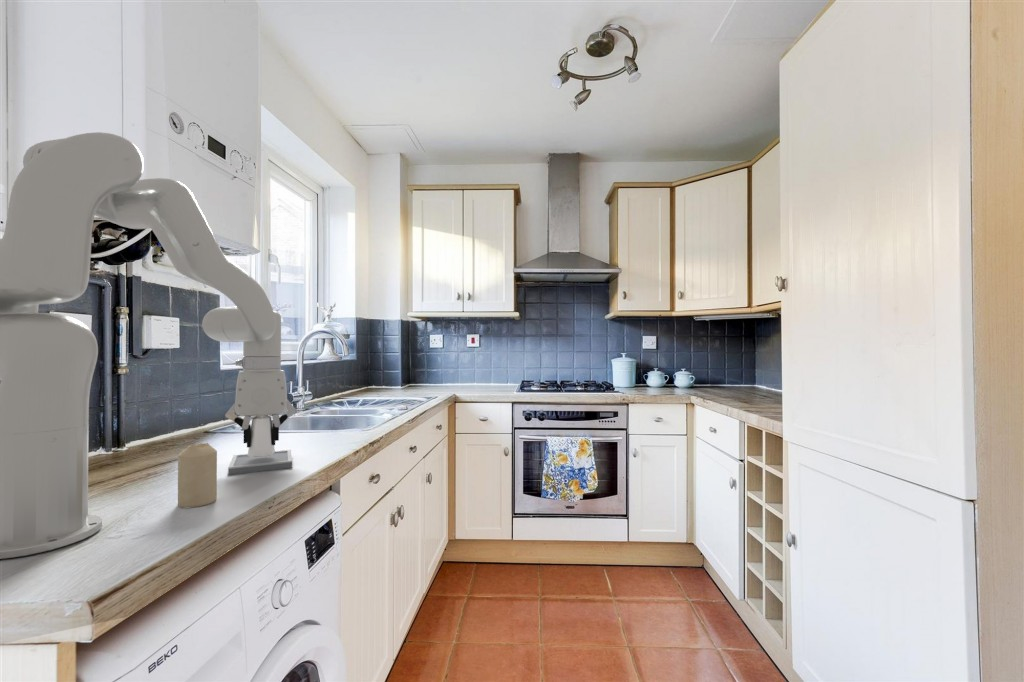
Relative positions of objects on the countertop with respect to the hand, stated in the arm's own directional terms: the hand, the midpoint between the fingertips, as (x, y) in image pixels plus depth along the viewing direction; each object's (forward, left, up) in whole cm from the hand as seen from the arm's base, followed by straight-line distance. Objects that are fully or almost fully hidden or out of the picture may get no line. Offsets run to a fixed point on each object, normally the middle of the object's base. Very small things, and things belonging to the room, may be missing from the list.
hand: (261, 444), depth 102 cm
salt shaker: (0, 0, -3) cm, 3 cm away
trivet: (0, 0, -5) cm, 5 cm away
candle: (-9, -23, -5) cm, 25 cm away
